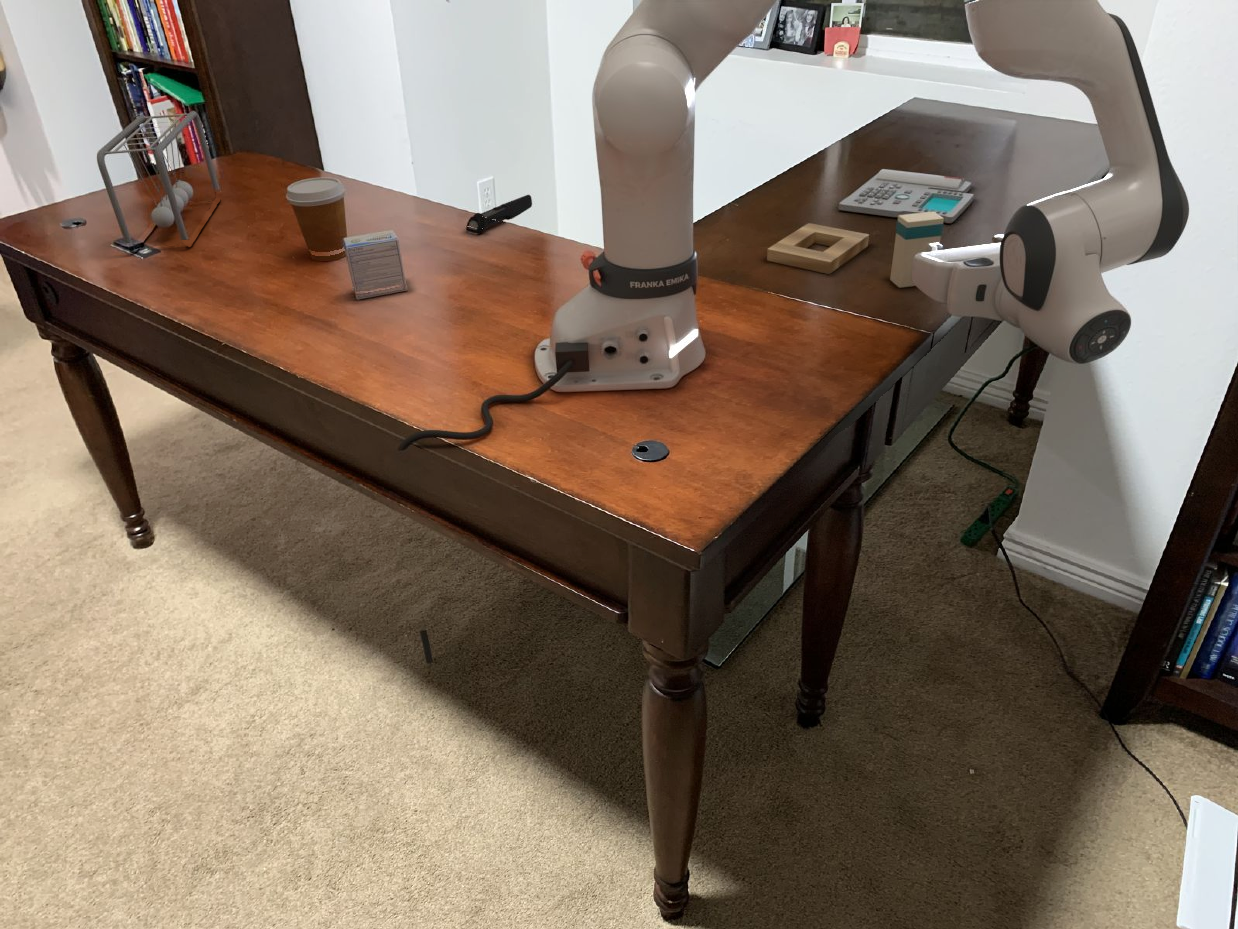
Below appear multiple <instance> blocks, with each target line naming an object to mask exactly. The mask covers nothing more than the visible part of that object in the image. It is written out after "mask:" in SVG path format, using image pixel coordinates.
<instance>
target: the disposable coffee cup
mask: <svg viewBox="0 0 1238 929" xmlns="http://www.w3.org/2000/svg"><path fill="white" fill-rule="evenodd" d="M286 190H287V192H286V195H285V198H286V200H287V201H288V202H289V204H290V205H291V208H292V210H293V213H294V216H295V219H296V221H297V225H298V226H299V229H300V232H301V234H302V237H303V239H304V242H305V244H306V248H307V250H308V249H309V250H311V251H315V252H330V251H334V250H339V249H342V248H343V247H344V244H343V239H344V238H347V237H348V230H347V219H346V205H345V192H346V188H345V187H344V186H343V184H342V181H341V180H340V179H338V178H336V177H329V176H328V177H327V176H325V177H311V178H305V179H301V180H298V181H295V182H293V183H291V184H290V185H288V186H287V188H286ZM309 250H308V251H309ZM309 255H310V259H311V260H314V261H317V262H330V261H336V260H340V259H342V258H344V257H346V253H345V251H343V252H341V253H339V254H335V255H330V256H315V255H312V254H310V253H309Z"/></svg>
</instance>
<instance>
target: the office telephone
mask: <svg viewBox="0 0 1238 929" xmlns="http://www.w3.org/2000/svg"><path fill="white" fill-rule="evenodd" d="M971 185H972V182H971V181H966V179H965V178H963V177H955V176H947V175H938V174H928V173H920V172H911V171H903V170H895V169H887V168H886V169H885V168H882V169H881V170H879V171H878V173H876V174H875V175H874V176H873V177H871V178H870V179H869V180H868V181H866V182H865V183H864V184H863V185H861V186H860V187H859V188H858V189H856V190H855V191H854V192H853V193H851V194H850V195H849V196H847V197H845V198H844V199H842V200H841V201H840V202H839V203H838V208H837V209H838V210H839V211H844V212H851V213H860V214H868V215H876V216H883V217H890V218H898V215H906V214H915V213H924V212H935V213H937V214H938V215H940V216H941V217H943V218H944V220H943V223H945V224H952V223H953V222H955V221H956V220H957V219H958V218H959V217H960V216H961V215H962V214H963V212H964V211H966V209H967V208H968V207H969V206H970V205H971V203H973V199H974V193H968V192H969V191H970V190H971Z"/></svg>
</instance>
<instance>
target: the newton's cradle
mask: <svg viewBox="0 0 1238 929" xmlns="http://www.w3.org/2000/svg"><path fill="white" fill-rule="evenodd" d="M176 117H177V118H176ZM183 117H184V118H183ZM164 118H176V120H173V121H171V123H172V124H170V125H168V126H165V128H166V129H165V130H164V131H161V135H160V136H158V137H157V136H155V135H154V134H155V133H157V134H158V131H153V129H158V128H161V126H155V127H152V124H153V125H154V122H151V121H152V120H153V119H164ZM182 118H183V119H182ZM181 119H182V120H181ZM179 121H180V122H179ZM192 121H193V122H194V125H195V128H196V132H197V135H198V139H199V143H200V146H201V149H202V154H203V156H204V160H205V164H206V167H207V171H208V173H209V177H210V180H211V184H212V187H213V191H214V190H219V189H220V190H221V188H220V183H219V180H218V177H217V173H216V170H215V167H214V163H213V160H212V155H211V153H210V149H209V145H208V141H207V139H206V134H205V132H204V128H203V124H202V121H201V117H200V116H199V113H198V112H196V111H195V110H191V111H190V112H189V113H177V114H164V115H152V116H151V115H150V116H146V115H145V114H140V115H138V116H136V118H135V119H134V120H133V121H132V122H130V123H129V124H128V125H127V126H126V127H125V128H123V129H122V130H120V132H118V133H117V134H116V135H115V136H114V137H113V138H112V139H110V140H109V141H108V142H107V143H106V144H105V145H104V146H102V147H101V148H100V149H99V150H98V151H97V153H96V162H97V166H98V170H99V172H100V176H101V179H102V180H103V184H104V187H105V190H106V193H107V195H108V198H109V201H110V204H111V207H112V210H113V212H114V215H115V217H116V221H117V223H118V227H119V229H120V232H121V236H122V238H123V241H124V243H130V242H132V243H133V240H132V236H131V234H130V232H129V229H128V226H127V223H126V220H125V217H124V215H123V214H124V213H123V211H122V208H121V206H120V203H119V199H118V197H117V194H116V190H115V188H114V186H113V182H112V179H111V177H110V173H109V170H108V168H107V164H106V161H105V160H106V159H105V158H106V156H107V155H112V154H113V155H116V154H126V153H127V154H128V156H129V157H130V159H131V161H132V163H133V166H134V167H135V169H136V171H137V173H138V175H139V176H140V178H141V180H142V182H143V184H144V185H145V188H146V190H147V191H148V193H149V196H150V197H151V199H152V201H153V202H154V204H155V206H156V207H155V208H153V209H152V211H151V214H150V218H151V222H152V221H153V222H154V224H155V225H157V227H158V228H162V229H165V228H169V227H171V226H172V225H173V224H174V222H175V224H176V227H177V231H178V233H179V237H180V240H181V241H182V240H187V239H189V236H188V233H187V231H186V227H185V223H184V221H183V217H182V212H183V210H184V207H186V206H187V205H188V204H187V203H188V202H189V200H191V199H192V198H193V196H194V188H193V187H192V185H191V184H190V183H189V182H187V181H184V180H183V178H182V169H181V168H182V167H181V161H180V152H179V144H178V142H179V141H178V136H179V135H180V134H181V133H182V132H183V130H185V129H186V127H187V126H188V125H189V124H190V123H191V122H192ZM165 123H166V124H167V121H160V122H159V121H158V124H165ZM141 124H142V125H141ZM140 125H141V126H140ZM173 127H174V128H173ZM134 130H135V131H134ZM144 130H145V131H144ZM140 131H142V132H140ZM132 132H133V133H132ZM139 132H140V133H139ZM141 134H143V135H144V137H139V135H141ZM135 135H136V137H137V138H135V140H138V141H139V142H138V143H137V142H136V145H141V147H142V148H136V146H135V143H134V142H133V137H134V136H135ZM163 137H164V138H163ZM144 138H145V139H146V140H147V143H148V145H149V147H144V145H143V144H145V142H141V140H142V139H144ZM175 139H176V149H177V158H178V166H179V176H180V179H179V180H178V177H177V176H176V166H175V158H174V157H175V156H174V148H173V141H174V140H175ZM123 140H124V141H123ZM129 141H130V142H131V143H128V142H129ZM129 145H130V146H131V145H132V146H133V148H134V149H128V148H127V146H129ZM169 145H171V146H170V147H171V155H172V164H173V169H172V167H171V165H170V163H169V155H168V153H169V152H168V146H169ZM123 147H124V148H125V149H124V150H120V149H122V148H123ZM164 151H166V154H164ZM135 152H136V154H137V156H138V158H139V159H140V161H141V163H142V166H143V167H144V169H145V170H146V173H147V175H148V176H149V179H150V180H151V182H152V184H153V186H154V188H155V190H156V191H157V192H156V193H157V194H158V195H159V202H158V203H157V202H156V201H155V198H154V197H153V194H152V193H151V191H150V189H149V187H148V186H147V184H146V181H145V180H144V178H143V176H142V175H141V173H140V171H139V168H138V167H137V165H136V163H135V161H134V159H133V158H132V156H131V153H135ZM139 152H144V153H145V154H146V157H147V158H148V160H149V162H150V164H151V166H152V168H153V170H154V171H155V174H156V176H157V177H156V178H157V185H158V188H157V186H156V184H155V182H154V180H153V178H152V177H151V176H152V175H150V172H149V171H148V168H147V167H146V165H145V163H144V161H143V159H142V157H141V155H140V154H139ZM148 152H152V156H153V158H154V162H155V166H154V164H153V162H152V160H151V159H150V156H149V154H148ZM165 161H166V163H167V166H166V163H165ZM167 167H168V168H167ZM167 169H168V170H167ZM170 170H171V171H170ZM171 173H172V175H173V176H174V182H175V183H174V184H173V185H172V181H171ZM160 183H161V185H162V187H163V190H164V193H165V195H164V196H163V197H162V196H161V187H160ZM166 194H167V195H166Z"/></svg>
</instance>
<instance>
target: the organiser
mask: <svg viewBox="0 0 1238 929" xmlns="http://www.w3.org/2000/svg"><path fill="white" fill-rule="evenodd" d="M869 240H870V234H868V233H863V232H858V231H853V230H847V229H842V228H836V227H831V226H825V225H820V224H815V223H810V222H808V223H806V224H805V225H803V226H801V227H800V228H798V229H797V230H795V231H794V232H792V233H790V234H789V235H787V236H785V237H784V238H782V239H780V240H779V241H777V242H776V243H774V244H772V245H771V246H770V247H768V248H767V250H766V261H767V262H771V263H776V264H780V265H785V266H789V267H794V268H799V269H804V270H809V271H813V272H817V273H821V274H826V275H831V274H832V273H833V272H835V271H836V270H837V269H839V268H840V267H841V266H843V265H844V264H845V263H847V262H849V261H850V260H851V259H853V258H854V257H855V256H857V255H858V254H859V253H861V252H862V251H863V250H865V249H866V248H867V247H869ZM814 244H816V245H821V246H827V247H828V248H826V249H825V250H824V251H819V250H815V249H810V248H809V247H811V246H812V245H814Z"/></svg>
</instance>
